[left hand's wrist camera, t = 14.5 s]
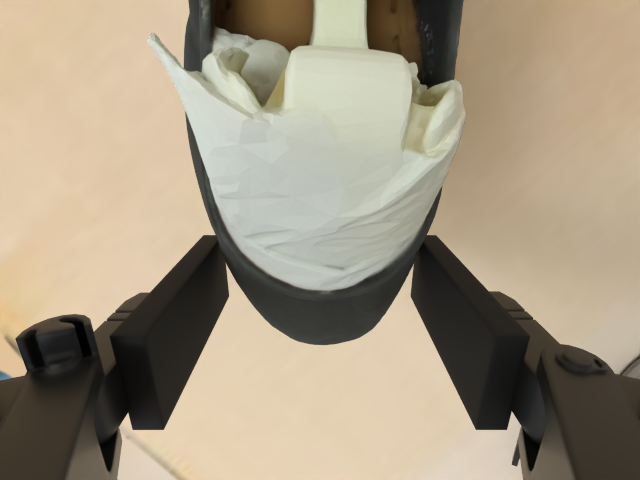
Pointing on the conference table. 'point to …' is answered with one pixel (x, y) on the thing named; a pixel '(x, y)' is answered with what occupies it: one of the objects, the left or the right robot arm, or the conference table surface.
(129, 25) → the conference table surface
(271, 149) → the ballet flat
